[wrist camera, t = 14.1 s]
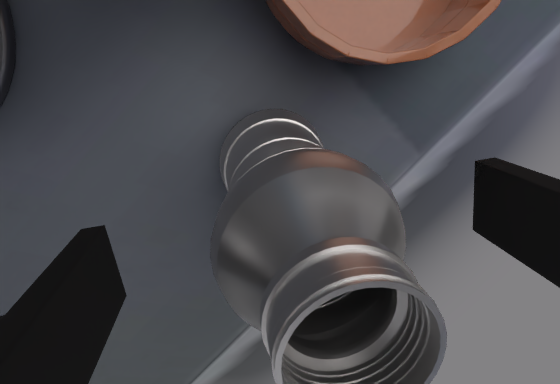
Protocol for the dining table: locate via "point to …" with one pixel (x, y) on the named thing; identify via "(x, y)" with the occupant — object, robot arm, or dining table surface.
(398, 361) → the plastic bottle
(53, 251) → the dining table surface
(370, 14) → the pan
